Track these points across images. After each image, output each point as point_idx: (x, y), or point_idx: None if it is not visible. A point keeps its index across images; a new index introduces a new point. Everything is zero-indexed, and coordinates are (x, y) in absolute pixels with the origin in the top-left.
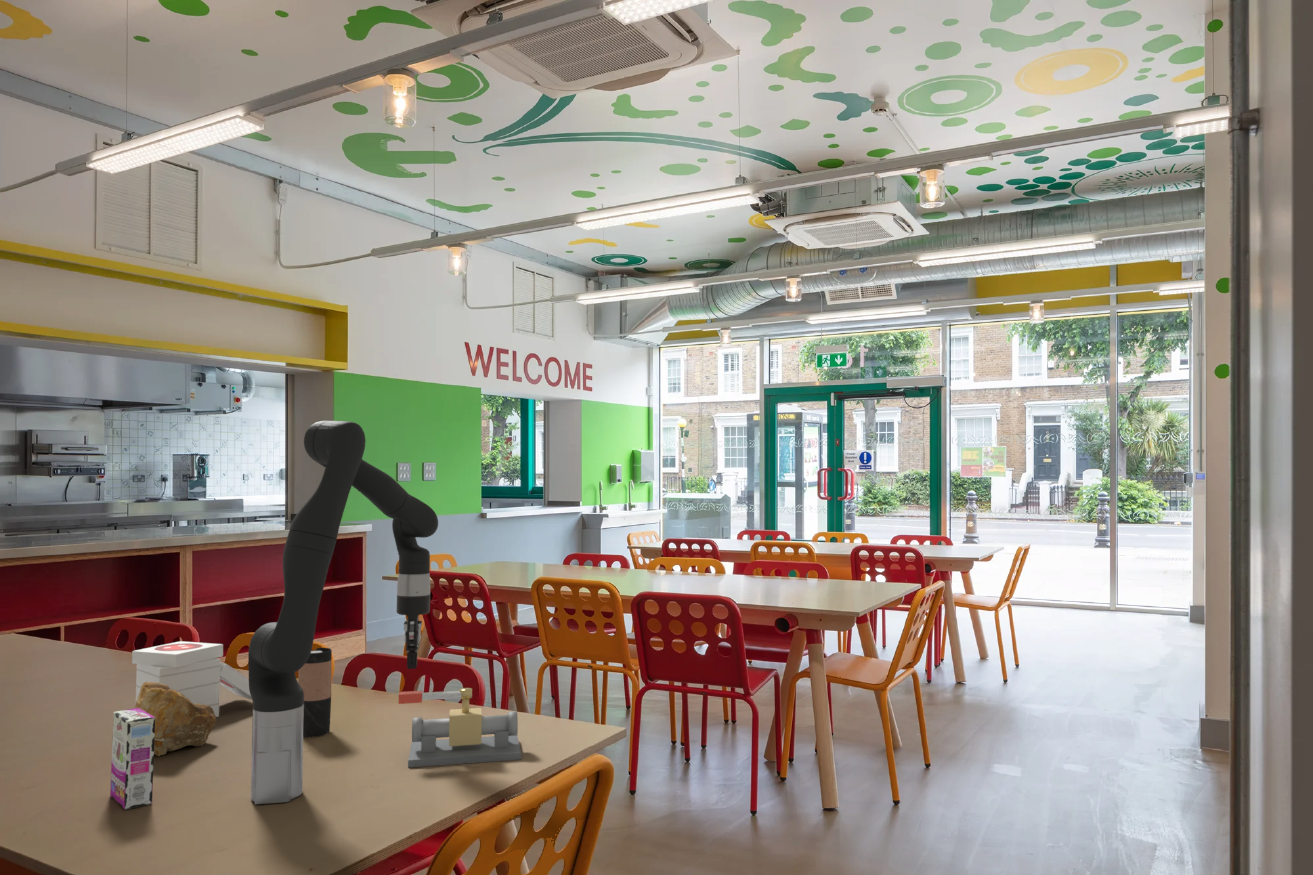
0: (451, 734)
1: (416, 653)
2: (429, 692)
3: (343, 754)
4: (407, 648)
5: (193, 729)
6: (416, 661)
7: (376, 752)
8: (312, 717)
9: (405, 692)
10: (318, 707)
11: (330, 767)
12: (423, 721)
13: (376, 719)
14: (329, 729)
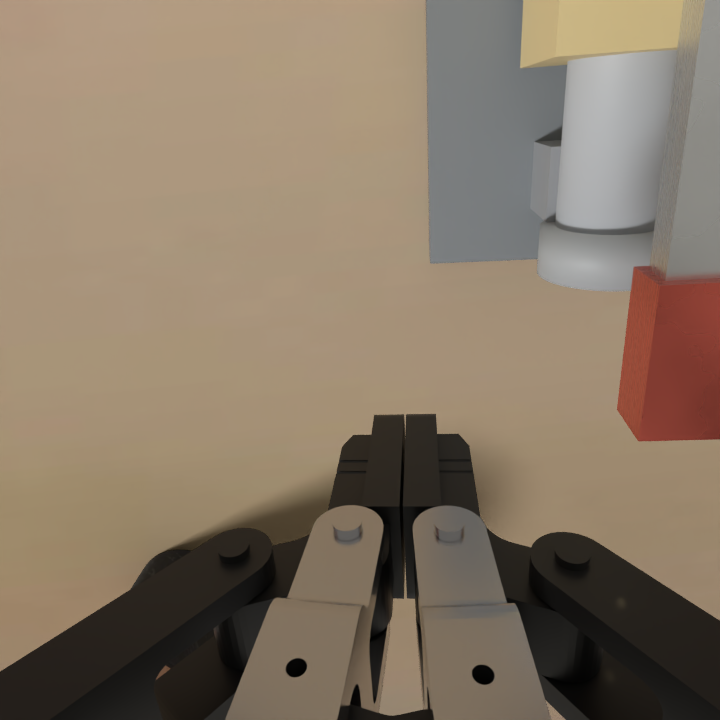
0: None
1: (439, 503)
2: (677, 224)
3: None
4: (616, 665)
5: None
6: (435, 446)
7: (456, 383)
8: None
9: (672, 401)
10: None
11: (595, 502)
12: (644, 223)
13: (10, 428)
14: (178, 555)
